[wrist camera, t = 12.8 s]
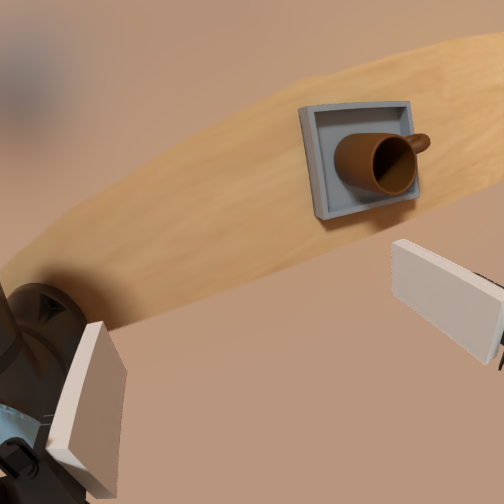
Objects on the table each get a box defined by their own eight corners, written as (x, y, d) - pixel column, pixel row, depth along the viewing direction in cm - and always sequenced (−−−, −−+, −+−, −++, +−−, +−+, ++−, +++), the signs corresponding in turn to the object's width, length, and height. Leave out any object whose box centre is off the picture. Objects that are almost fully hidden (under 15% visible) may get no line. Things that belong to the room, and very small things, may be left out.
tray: (314, 215, 44) (323, 220, 41) (297, 108, 39) (306, 106, 36) (407, 194, 46) (419, 197, 44) (397, 102, 41) (409, 101, 38)
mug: (384, 113, 41) (427, 110, 32) (403, 158, 44) (445, 164, 35) (322, 147, 40) (359, 149, 32) (345, 195, 43) (383, 208, 35)
